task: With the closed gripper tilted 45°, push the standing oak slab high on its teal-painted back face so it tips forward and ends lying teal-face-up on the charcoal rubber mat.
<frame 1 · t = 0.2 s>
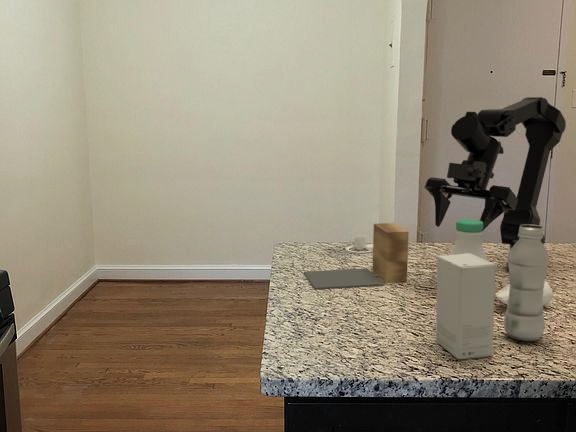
hand: (456, 229, 122), 15 cm above the countertop, tool tilted 30°, fingers open, 9 cm apart
teacup and saucer: (365, 254, 163), on the countertop
plastic bottle: (522, 339, 102), on the countertop
oak slab: (389, 276, 139), on the countertop
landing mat: (342, 279, 137), on the countertop
skincare box: (461, 349, 98), on the countertop
roll: (518, 309, 117), on the countertop
milk bottle: (463, 328, 107), on the countertop
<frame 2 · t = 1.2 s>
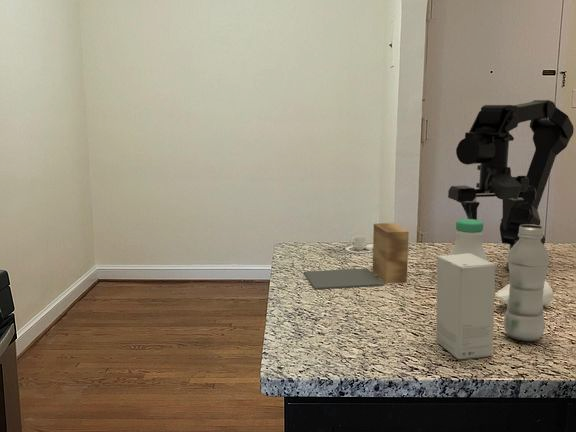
hand: (489, 229, 134), 12 cm above the countertop, tool pointing down, fingers open, 7 cm apart
nothing on the countertop moved.
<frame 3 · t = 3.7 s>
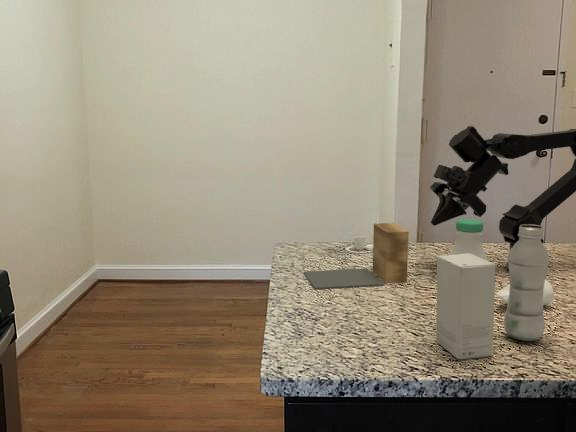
hand: (432, 224, 138), 12 cm above the countertop, tool tilted 45°, fingers closed
nothing on the countertop moved.
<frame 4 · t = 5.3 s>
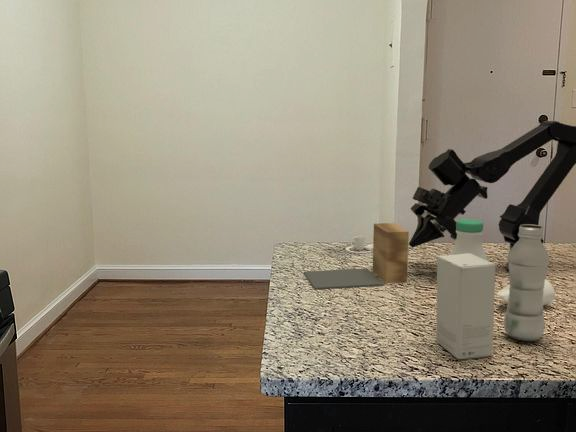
hand: (410, 245, 139), 7 cm above the countertop, tool tilted 45°, fingers closed
nothing on the countertop moved.
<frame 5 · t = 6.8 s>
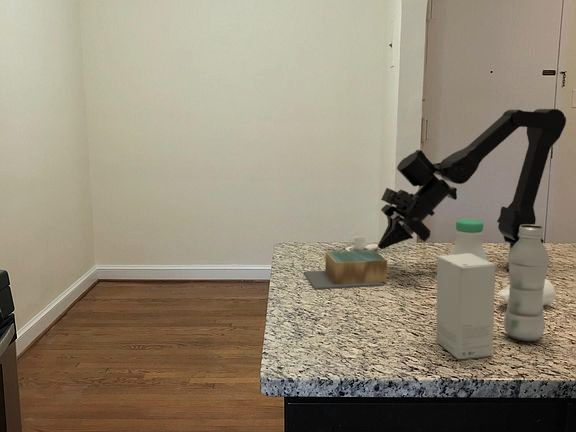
hand: (379, 247, 137), 7 cm above the countertop, tool tilted 45°, fingers closed
oak slab: (379, 265, 138), point 3 cm above the countertop, tilted 90°, touching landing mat
everything else where it was.
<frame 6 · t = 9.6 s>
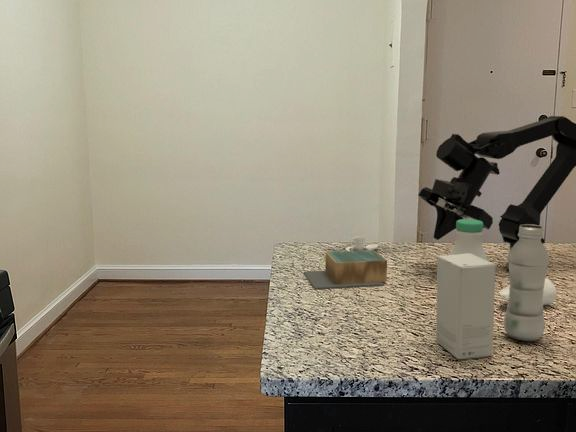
hand: (435, 238, 136), 10 cm above the countertop, tool tilted 35°, fingers closed
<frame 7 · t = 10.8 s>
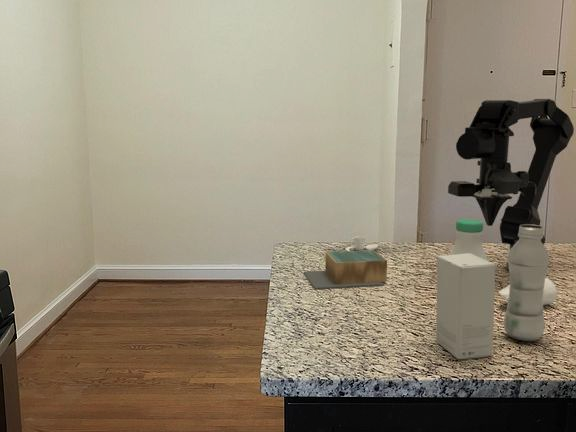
hand: (489, 225, 134), 13 cm above the countertop, tool pointing down, fingers closed
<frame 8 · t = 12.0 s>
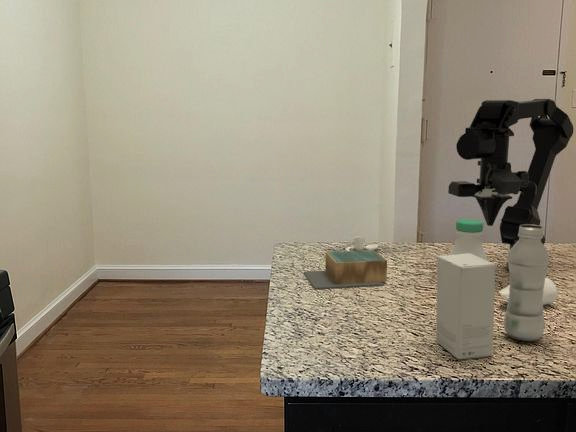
hand: (489, 225, 134), 13 cm above the countertop, tool pointing down, fingers closed
at the end: oak slab tilted 90°; oak slab inside the target area (1.0 cm from its centre), point 2.9 cm above the countertop; oak slab touching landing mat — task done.
